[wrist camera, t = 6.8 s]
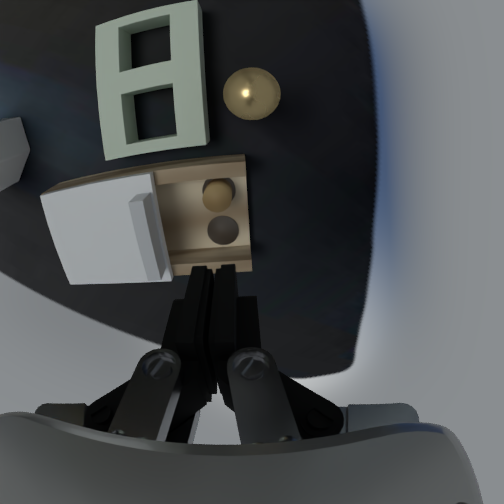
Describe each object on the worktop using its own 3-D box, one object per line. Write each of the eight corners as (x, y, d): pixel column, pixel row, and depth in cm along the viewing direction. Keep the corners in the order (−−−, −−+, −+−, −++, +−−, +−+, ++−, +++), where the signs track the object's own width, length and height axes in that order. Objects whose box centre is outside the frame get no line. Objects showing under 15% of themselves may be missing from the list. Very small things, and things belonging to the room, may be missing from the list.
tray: (60, 182, 24) (41, 193, 20) (244, 153, 24) (245, 161, 21) (84, 261, 29) (70, 279, 25) (250, 250, 29) (252, 270, 25)
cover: (44, 193, 20) (28, 203, 18) (152, 171, 20) (141, 180, 18) (73, 280, 25) (62, 295, 23) (173, 276, 25) (167, 294, 23)
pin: (228, 85, 21) (221, 69, 12) (263, 83, 21) (279, 66, 12) (230, 117, 22) (225, 121, 13) (265, 115, 22) (281, 119, 13)
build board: (109, 32, 17) (95, 26, 14) (202, 11, 17) (197, 0, 14) (119, 154, 23) (105, 160, 20) (210, 140, 23) (206, 144, 20)
